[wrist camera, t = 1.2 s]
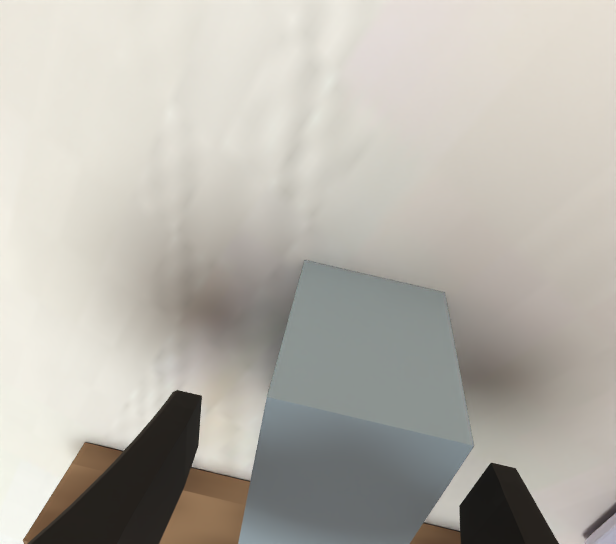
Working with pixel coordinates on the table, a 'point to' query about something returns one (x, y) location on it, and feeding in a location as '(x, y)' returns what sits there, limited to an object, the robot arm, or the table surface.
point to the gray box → (358, 415)
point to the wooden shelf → (185, 504)
